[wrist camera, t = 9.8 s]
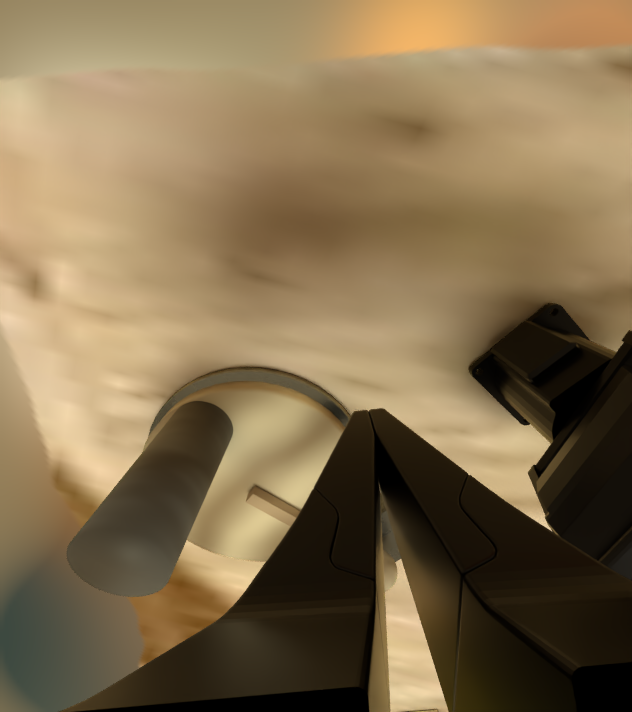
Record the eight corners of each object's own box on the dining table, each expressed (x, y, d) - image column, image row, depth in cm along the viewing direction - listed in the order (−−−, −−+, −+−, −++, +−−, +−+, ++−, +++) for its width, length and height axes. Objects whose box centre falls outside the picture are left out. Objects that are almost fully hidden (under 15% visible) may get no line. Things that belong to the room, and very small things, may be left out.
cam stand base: (458, 498, 26) (467, 517, 24) (321, 589, 31) (320, 610, 29) (236, 318, 20) (228, 326, 18) (114, 466, 25) (99, 483, 24)
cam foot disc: (455, 493, 24) (544, 674, 14) (329, 592, 29) (331, 773, 20) (217, 335, 19) (111, 443, 10) (118, 485, 25) (-16, 654, 15)
